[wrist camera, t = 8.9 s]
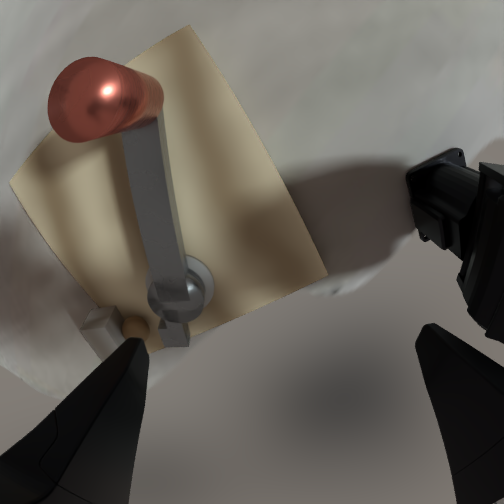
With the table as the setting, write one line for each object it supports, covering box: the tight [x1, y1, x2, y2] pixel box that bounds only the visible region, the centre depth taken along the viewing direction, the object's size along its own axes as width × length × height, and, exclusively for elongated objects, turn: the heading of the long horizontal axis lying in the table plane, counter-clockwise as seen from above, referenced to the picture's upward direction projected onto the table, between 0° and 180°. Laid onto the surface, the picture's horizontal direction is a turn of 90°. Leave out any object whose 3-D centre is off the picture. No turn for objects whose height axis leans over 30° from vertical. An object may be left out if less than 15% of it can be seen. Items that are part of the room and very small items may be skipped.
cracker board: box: [9, 25, 328, 362], centre depth 18 cm, size 20×20×4 cm
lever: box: [48, 57, 206, 347], centre depth 14 cm, size 4×19×8 cm, turn 4°
